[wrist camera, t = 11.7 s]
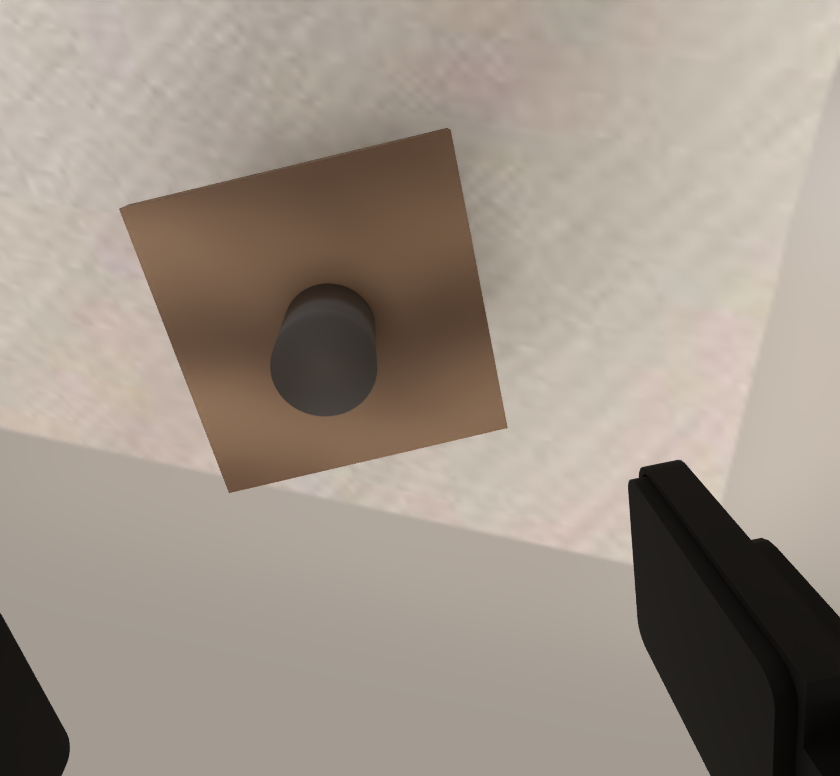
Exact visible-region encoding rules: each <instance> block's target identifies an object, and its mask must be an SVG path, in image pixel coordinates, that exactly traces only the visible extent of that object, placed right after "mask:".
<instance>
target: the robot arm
mask: <svg viewBox="0 0 840 776" xmlns="http://www.w3.org/2000/svg"><path fill="white" fill-rule="evenodd" d="M628 494H629V507H630V521H631V535H632V549H633V562H634V576H635V590H636V604H637V617H638V625H639V630H640V634H641V637H642V640H643V643H644V645H645V647H646V649H647V651H648V653H649V655H650V657H651V659H652V661H653V663H654V665H655V667H656V669H657V671H658V673H659V675H660V677H661V679H662V681H663V683H664V685H665V687H666V689H667V691H668V693H669V694H670V697H671V699H672V700H673V703H674V704H675V706H676V708H677V710H678V712H679V714H680V716H681V718H682V720H683V722H684V724H685V726H686V728H687V730H688V732H689V734H690V736H691V738H692V740H693V742H694V744H695V746H696V748H697V750H698V752H699V754H700V756H701V758H702V760H703V762H704V763H705V766H706V768H707V770H708V771H709V773H710V775H711V776H840V617H839V616H838V615H837V614H836V613H835V612H834V610H833V609H832V608H831V607H830V606H829V605H828V604H827V603H826V601H825V600H824V599H823V598H822V597H821V596H820V595H819V594H818V593H817V591H816V590H815V589H814V588H813V587H812V586H811V585H810V584H809V583H808V582H807V580H806V579H805V578H804V577H803V576H802V575H801V574H800V573H799V572H798V570H797V569H796V568H795V567H794V566H793V565H792V564H791V563H790V562H789V561H788V560H787V558H786V557H785V556H784V555H783V554H782V553H781V552H780V551H779V550H778V548H777V547H776V546H774V545H773V544H772V543H771V542H770V541H769V540H766V539H763V538H759V539H754V540H751V539H750V538H749V537H748V536H747V535H746V534H745V532H744V531H743V530H742V529H741V528H740V527H739V525H737V523H736V522H735V521H734V520H733V519H732V517H731V516H730V515H729V514H728V513H727V512H726V510H725V509H724V508H723V507H722V506H721V505H720V503H719V502H718V501H717V500H716V499H715V498H714V496H713V495H712V494H711V493H710V492H709V491H708V489H707V488H706V487H705V486H704V485H703V484H702V483H701V481H700V480H699V479H698V478H697V477H696V476H695V474H694V473H693V472H692V471H691V470H690V469H689V467H688V466H687V465H686V464H685V463H684V462H683V461H682V460H675V461H670V462H665V463H660V464H655V465H650V466H645V467H642V468H641V469H640V472H639V478H636V479H631V480H630V481H629V483H628ZM69 752H70V743H69V738H68V735H67V733H66V731H65V729H64V727H63V726H62V724H61V722H60V720H59V718H58V717H57V715H56V713H55V711H54V709H53V707H52V706H51V704H50V702H49V700H48V698H47V696H46V695H45V693H44V691H43V689H42V687H41V686H40V684H39V682H38V680H37V678H36V677H35V675H34V673H33V671H32V669H31V667H30V666H29V664H28V662H27V660H26V658H25V657H24V655H23V653H22V651H21V649H20V647H19V646H18V644H17V642H16V640H15V639H14V637H13V635H12V633H11V631H10V629H9V627H8V626H7V624H6V622H5V620H4V618H3V617H2V615H1V614H0V776H61V775H62V773H63V771H64V768H65V766H66V764H67V761H68V758H69Z"/></svg>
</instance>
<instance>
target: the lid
mask: <svg viewBox="0 0 840 776" xmlns="http://www.w3.org/2000/svg"><path fill="white" fill-rule="evenodd" d="M119 210H120V212H121V215H122V217H123V220H124V223H125V225H126V228H127V230H128V233H129V235H130V238H131V241H132V243H133V246H134V248H135V251H136V254H137V256H138V259H139V261H140V264H141V266H142V269H143V272H144V274H145V277H146V279H147V282H148V285H149V287H150V290H151V292H152V295H153V297H154V300H155V303H156V305H157V308H158V310H159V313H160V316H161V318H162V321H163V323H164V326H165V329H166V331H167V334H168V336H169V339H170V341H171V344H172V347H173V349H174V352H175V354H176V357H177V360H178V362H179V365H180V367H181V370H182V372H183V375H184V378H185V380H186V383H187V385H188V388H189V391H190V393H191V396H192V398H193V401H194V403H195V406H196V409H197V411H198V414H199V416H200V419H201V422H202V424H203V427H204V429H205V432H206V434H207V437H208V440H209V442H210V445H211V447H212V450H213V453H214V455H215V458H216V460H217V463H218V465H219V468H220V471H221V473H222V476H223V478H224V481H225V483H226V486H227V489H228V491H229V493H231V492H235V491H239V490H243V489H248V488H252V487H257V486H261V485H265V484H270V483H274V482H278V481H282V480H287V479H291V478H295V477H300V476H304V475H308V474H312V473H317V472H321V471H325V470H329V469H334V468H338V467H342V466H347V465H351V464H355V463H359V462H364V461H368V460H372V459H377V458H381V457H385V456H389V455H394V454H398V453H402V452H407V451H411V450H415V449H419V448H424V447H428V446H432V445H436V444H441V443H445V442H449V441H454V440H458V439H462V438H466V437H471V436H475V435H479V434H484V433H488V432H492V431H496V430H501V429H505V428H507V423H506V418H505V412H504V407H503V402H502V397H501V391H500V386H499V381H498V376H497V371H496V365H495V360H494V355H493V350H492V344H491V339H490V334H489V329H488V323H487V318H486V313H485V308H484V303H483V297H482V292H481V287H480V282H479V276H478V271H477V266H476V261H475V255H474V250H473V245H472V240H471V234H470V229H469V224H468V219H467V214H466V208H465V203H464V198H463V193H462V187H461V182H460V177H459V172H458V166H457V161H456V156H455V151H454V146H453V140H452V135H451V130H450V129H448V128H445V129H441V130H437V131H433V132H429V133H424V134H420V135H416V136H412V137H408V138H404V139H399V140H395V141H391V142H387V143H383V144H379V145H375V146H370V147H366V148H362V149H358V150H354V151H350V152H345V153H341V154H337V155H333V156H329V157H325V158H320V159H316V160H312V161H308V162H304V163H300V164H295V165H291V166H287V167H283V168H279V169H275V170H270V171H266V172H262V173H258V174H254V175H250V176H245V177H241V178H237V179H233V180H229V181H225V182H221V183H216V184H212V185H208V186H204V187H200V188H196V189H191V190H187V191H183V192H179V193H175V194H171V195H166V196H162V197H158V198H154V199H150V200H146V201H141V202H137V203H133V204H129V205H127V206H125V207H122V208H120V209H119Z"/></svg>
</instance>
